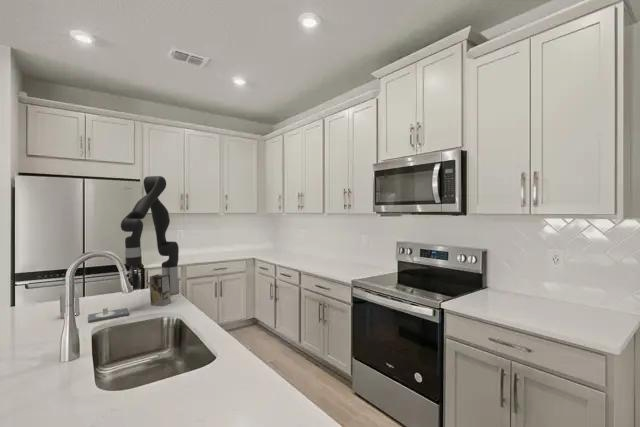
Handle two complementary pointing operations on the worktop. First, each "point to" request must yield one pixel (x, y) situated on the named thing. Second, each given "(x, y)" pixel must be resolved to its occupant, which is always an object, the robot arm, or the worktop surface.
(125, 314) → the control panel
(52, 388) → the worktop surface
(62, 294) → the milk bottle
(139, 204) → the robot arm
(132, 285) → the knob
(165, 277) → the coffee box
